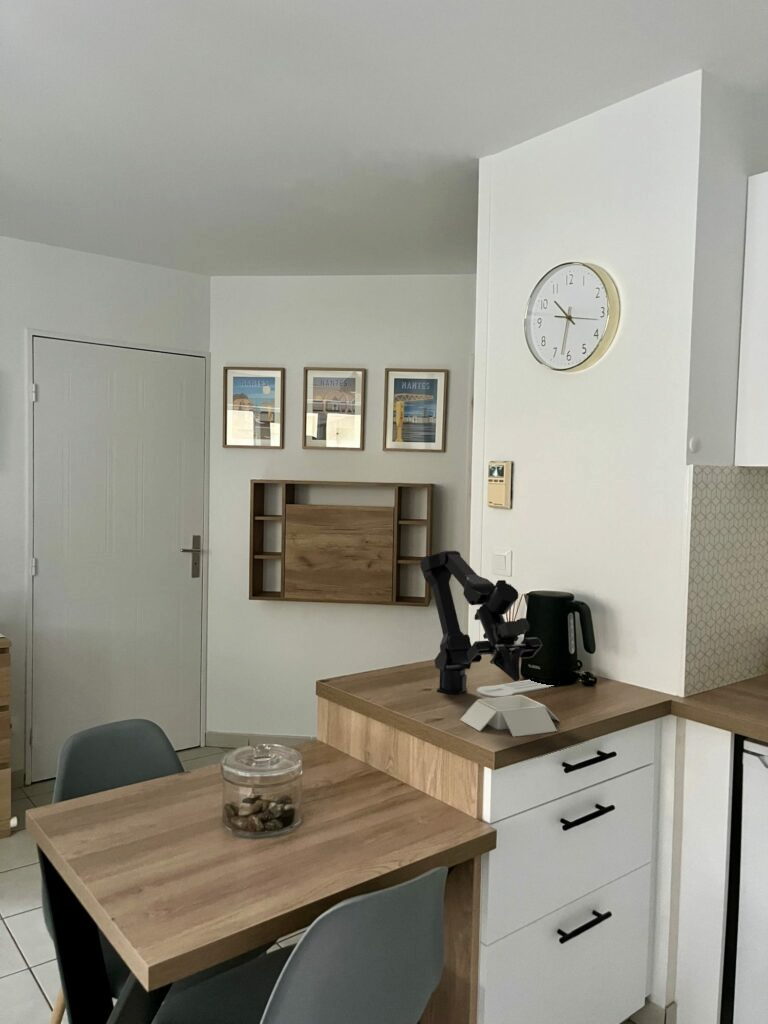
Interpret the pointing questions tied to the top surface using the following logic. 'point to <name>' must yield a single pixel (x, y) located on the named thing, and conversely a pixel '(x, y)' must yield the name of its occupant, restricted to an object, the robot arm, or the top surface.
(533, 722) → the panel
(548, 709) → the flap
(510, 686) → the white pronged spatula
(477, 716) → the flap
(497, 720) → the carton
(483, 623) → the robot arm
